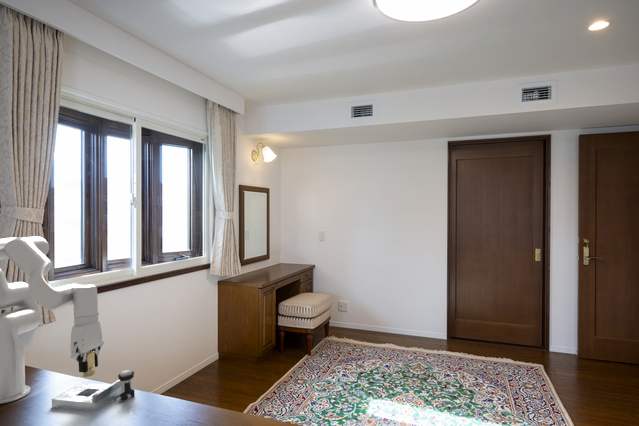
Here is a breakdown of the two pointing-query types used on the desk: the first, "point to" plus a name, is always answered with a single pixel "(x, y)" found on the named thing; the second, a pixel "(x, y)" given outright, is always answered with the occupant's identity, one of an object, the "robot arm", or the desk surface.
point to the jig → (79, 396)
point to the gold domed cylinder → (90, 364)
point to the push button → (126, 385)
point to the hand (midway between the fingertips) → (88, 368)
